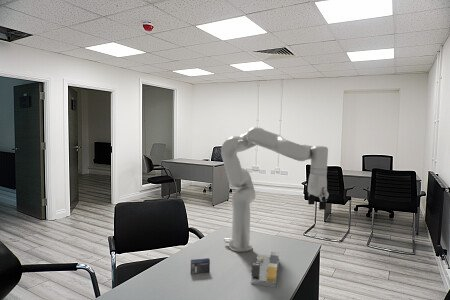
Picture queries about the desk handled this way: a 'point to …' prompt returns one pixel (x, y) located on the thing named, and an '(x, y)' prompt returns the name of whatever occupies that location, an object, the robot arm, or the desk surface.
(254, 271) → the slider knob
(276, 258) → the slate rocker
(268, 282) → the panel
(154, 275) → the desk surface
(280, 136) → the robot arm
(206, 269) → the mini dv tape
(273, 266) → the amber rocker
